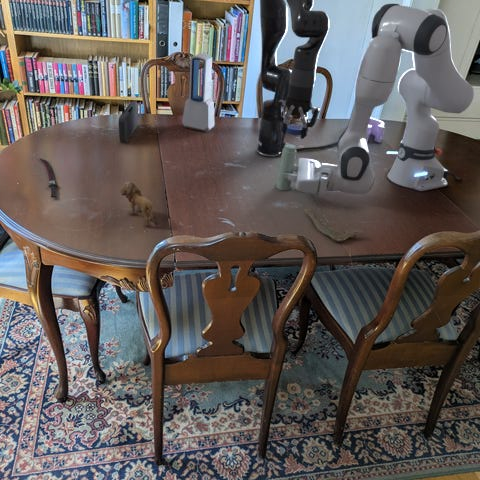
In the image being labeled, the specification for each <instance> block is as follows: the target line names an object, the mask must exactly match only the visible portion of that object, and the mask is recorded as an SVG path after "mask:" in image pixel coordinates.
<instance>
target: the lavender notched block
mask: <svg viewBox="0 0 480 480" xmlns="http://www.w3.org/2000/svg"><path fill="white" fill-rule="evenodd" d="M385 129H386V127H385V122H384V121H383V120H380V119H377V118H374V117H372V116H371V117H370V121H369V124H368V127H367V130H366V137H367V143H368V142H369V140H370V135H372V136H374V139H373V140H374V142H376V143H382V140H383V137H384V132H385Z"/></svg>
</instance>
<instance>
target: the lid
mask: <svg viewBox="0 0 480 480" xmlns="http://www.w3.org/2000/svg"><path fill="white" fill-rule="evenodd" d="M289 124H290V123H289ZM302 128H303V125H300V124H294V123H291V124H290V125H287V129H286V132H287V134H288V135H291V136H301V133H302Z"/></svg>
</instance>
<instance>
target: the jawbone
mask: <svg viewBox="0 0 480 480" xmlns="http://www.w3.org/2000/svg"><path fill="white" fill-rule="evenodd" d="M303 211H304V212H305V214H306V215H308V216H309V217H310V219H311V220H312V222H313V224H314V226H315V227H316V228H317V230H318V231H319V232H320V233H322V234H323V235H325V236H327V237H329V238H330V239H332V240H333V241H334V242H337V243H338V242H339V243H341V242H344V241H346V240H347V239H349V238H352V239H356V238H357V236H358V233H359V234H362V233H364V231H363V230H361V229H359V228H349V229H347V230H343V231H340V230H339V231H338V230H335V229H334V228H333V227H331V226H329V225H328V224H327V223H325V221H324V220H323V219H321V218H319V219H318V218H317V217H316V216H315V215H314V214H313V212H312V211H311V210H310V209H309V208H307V209H306V208H305V209H303Z"/></svg>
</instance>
